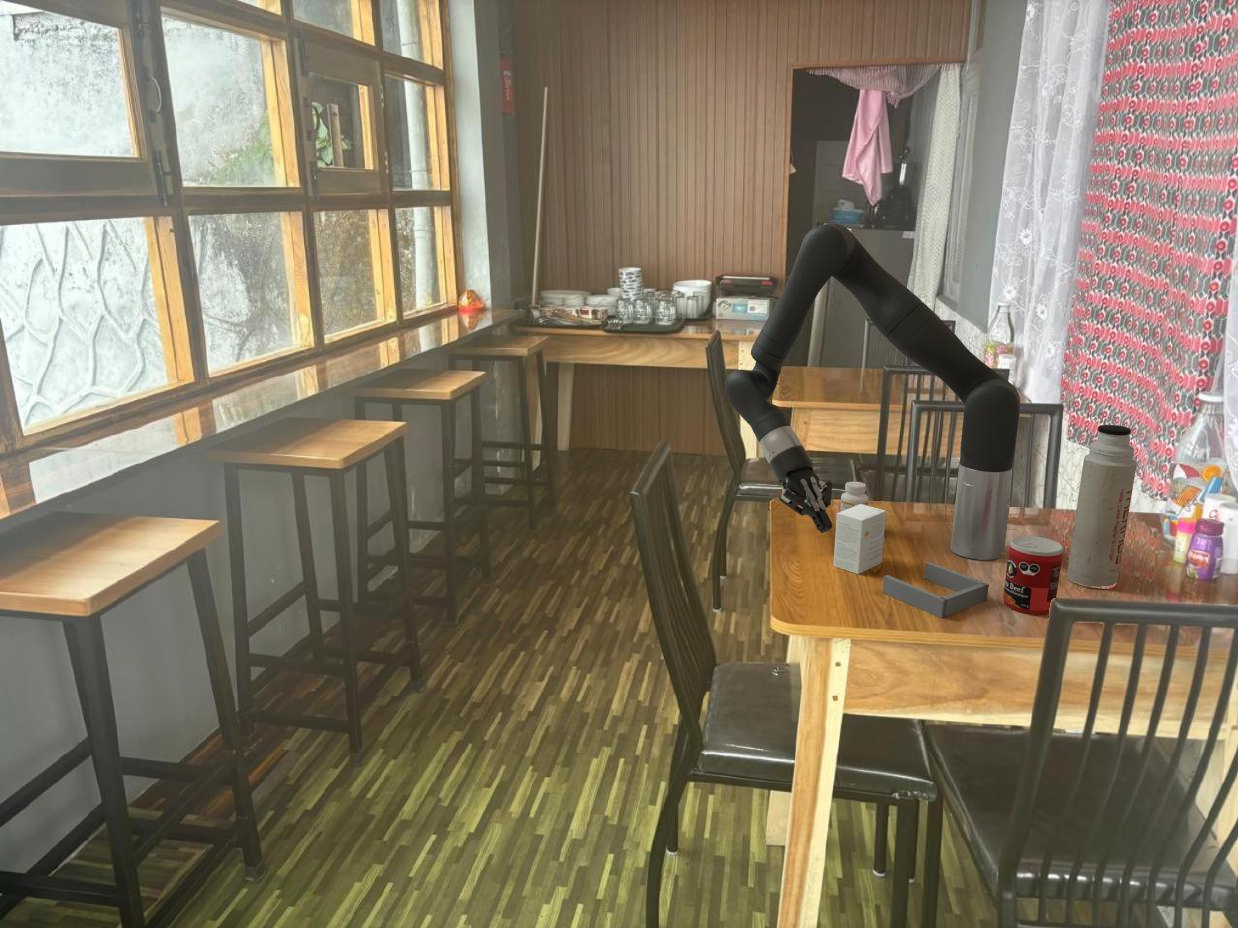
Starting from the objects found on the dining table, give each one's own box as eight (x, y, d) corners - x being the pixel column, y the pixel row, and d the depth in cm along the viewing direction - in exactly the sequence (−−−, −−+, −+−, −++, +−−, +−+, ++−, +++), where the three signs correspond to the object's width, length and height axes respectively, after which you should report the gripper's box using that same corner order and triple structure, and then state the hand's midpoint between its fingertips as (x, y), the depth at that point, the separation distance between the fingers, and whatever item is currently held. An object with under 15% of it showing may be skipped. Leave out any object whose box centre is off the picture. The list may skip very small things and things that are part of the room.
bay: (927, 577, 161) (929, 561, 160) (986, 600, 151) (988, 584, 151) (882, 592, 155) (883, 576, 154) (941, 617, 145) (942, 600, 144)
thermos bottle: (1126, 584, 158) (1152, 429, 150) (1097, 593, 154) (1122, 434, 147) (1085, 568, 165) (1108, 419, 157) (1056, 576, 161) (1078, 424, 154)
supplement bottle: (863, 525, 188) (867, 480, 185) (867, 534, 182) (871, 488, 180) (837, 524, 188) (840, 479, 185) (840, 533, 183) (844, 487, 180)
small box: (856, 555, 171) (860, 503, 168) (882, 563, 167) (887, 510, 164) (832, 566, 166) (835, 512, 163) (858, 575, 162) (862, 519, 159)
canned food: (993, 597, 153) (1001, 536, 150) (1039, 595, 153) (1047, 534, 150) (1016, 616, 146) (1025, 553, 142) (1064, 614, 146) (1073, 551, 143)
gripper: (770, 449, 172) (813, 527, 165) (820, 439, 179) (862, 514, 172) (750, 469, 178) (791, 546, 171) (799, 459, 185) (840, 533, 178)
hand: (827, 530), depth 172 cm, fingers closed
